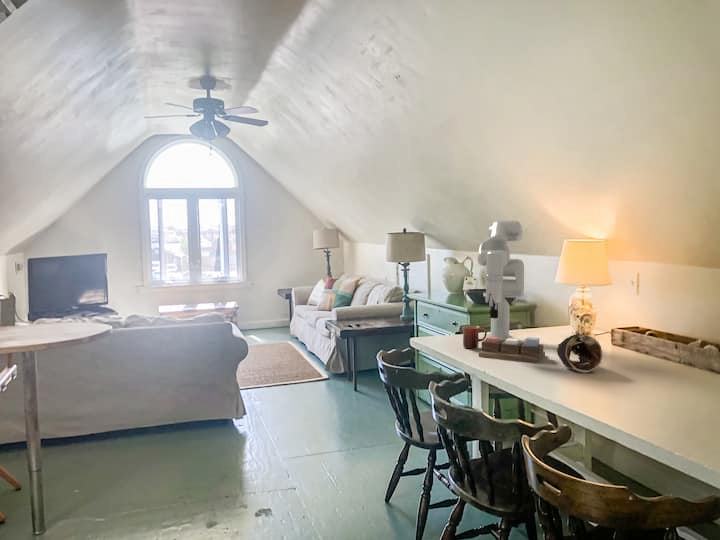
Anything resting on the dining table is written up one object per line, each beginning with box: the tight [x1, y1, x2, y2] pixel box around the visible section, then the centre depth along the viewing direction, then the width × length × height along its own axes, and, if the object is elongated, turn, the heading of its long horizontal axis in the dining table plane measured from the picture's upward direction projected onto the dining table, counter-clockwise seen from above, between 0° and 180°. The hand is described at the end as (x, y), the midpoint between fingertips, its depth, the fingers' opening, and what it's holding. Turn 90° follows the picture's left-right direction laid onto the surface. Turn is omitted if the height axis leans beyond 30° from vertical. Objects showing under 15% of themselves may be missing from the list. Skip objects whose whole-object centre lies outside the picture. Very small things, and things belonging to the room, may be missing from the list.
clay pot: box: [556, 333, 603, 373], centre depth 233 cm, size 15×15×25 cm
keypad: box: [478, 339, 546, 364], centre depth 251 cm, size 16×26×6 cm, turn 59°
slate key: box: [524, 336, 540, 347], centre depth 246 cm, size 5×5×4 cm
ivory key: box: [504, 337, 520, 345], centre depth 251 cm, size 5×5×4 cm
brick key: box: [485, 336, 500, 343], centre depth 255 cm, size 5×5×4 cm
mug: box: [461, 325, 488, 350], centre depth 269 cm, size 12×9×10 cm
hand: (494, 317), depth 254 cm, fingers closed
